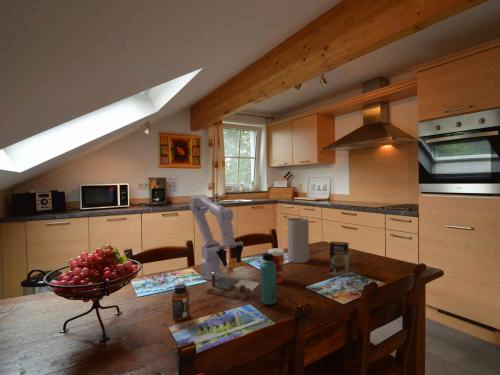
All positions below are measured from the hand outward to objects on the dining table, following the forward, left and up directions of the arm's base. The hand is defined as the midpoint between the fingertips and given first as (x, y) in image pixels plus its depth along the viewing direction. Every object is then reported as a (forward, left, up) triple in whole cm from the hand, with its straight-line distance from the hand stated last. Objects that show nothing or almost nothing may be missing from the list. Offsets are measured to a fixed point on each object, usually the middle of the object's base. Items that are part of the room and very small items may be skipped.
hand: (232, 264), depth 118 cm
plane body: (+1, -5, -11) cm, 12 cm away
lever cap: (0, -5, -9) cm, 10 cm away
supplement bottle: (-5, -29, -11) cm, 32 cm away
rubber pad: (+5, +5, -11) cm, 13 cm away
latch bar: (-3, -5, -4) cm, 7 cm away
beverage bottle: (+21, -8, -11) cm, 25 cm away
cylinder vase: (+18, +51, -11) cm, 55 cm away
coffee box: (+43, +37, -11) cm, 57 cm away
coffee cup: (+16, +16, -11) cm, 25 cm away
